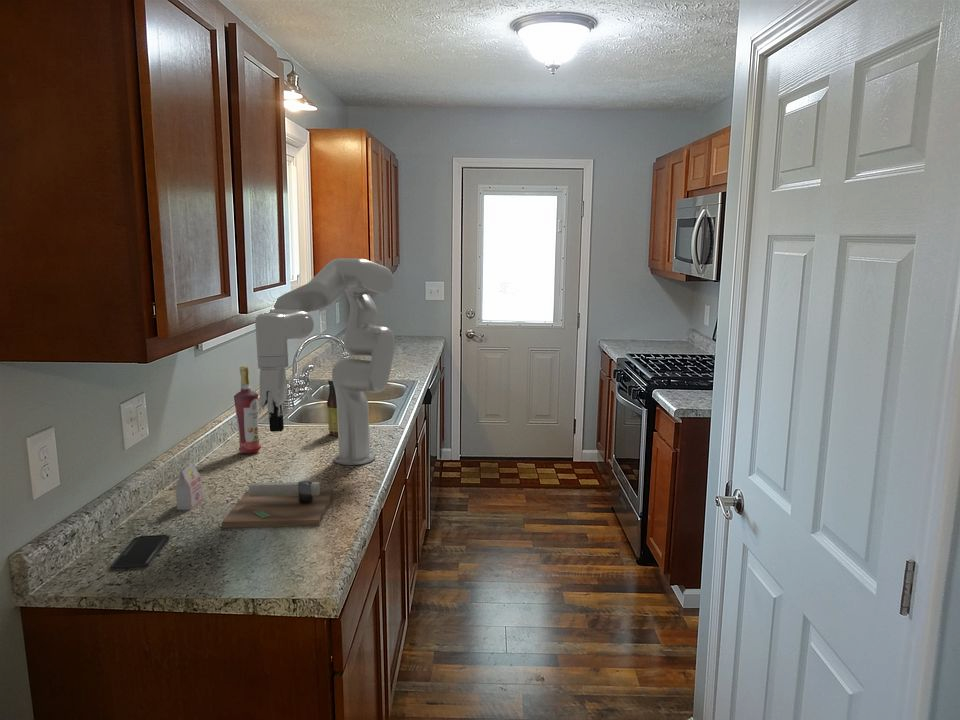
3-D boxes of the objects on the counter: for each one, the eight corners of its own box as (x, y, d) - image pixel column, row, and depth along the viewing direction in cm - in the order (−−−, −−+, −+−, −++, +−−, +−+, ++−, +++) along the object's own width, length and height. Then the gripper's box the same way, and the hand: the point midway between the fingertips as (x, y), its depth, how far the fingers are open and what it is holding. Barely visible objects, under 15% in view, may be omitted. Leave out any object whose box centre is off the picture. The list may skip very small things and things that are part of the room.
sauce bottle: (339, 430, 244) (336, 376, 240) (350, 433, 240) (348, 378, 236) (324, 434, 239) (321, 379, 235) (336, 437, 235) (333, 381, 231)
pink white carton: (177, 509, 174) (173, 472, 172) (189, 499, 180) (186, 463, 179) (191, 509, 174) (188, 472, 172) (203, 499, 180) (200, 463, 178)
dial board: (248, 494, 183) (247, 488, 183) (334, 493, 184) (334, 487, 184) (222, 527, 163) (221, 521, 162) (319, 525, 163) (318, 518, 163)
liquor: (251, 456, 215) (245, 370, 210) (233, 454, 218) (226, 368, 213) (266, 450, 222) (261, 365, 217) (248, 447, 224) (242, 364, 219)
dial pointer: (321, 497, 176) (320, 480, 175) (318, 502, 173) (317, 485, 172) (252, 498, 175) (251, 481, 175) (248, 504, 172) (247, 486, 171)
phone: (170, 534, 157) (147, 564, 143) (171, 538, 158) (147, 569, 143) (135, 536, 157) (107, 567, 142) (135, 541, 157) (108, 572, 142)
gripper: (266, 356, 182) (270, 423, 185) (249, 367, 167) (254, 439, 170) (294, 356, 182) (297, 422, 185) (280, 366, 167) (284, 438, 170)
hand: (276, 430), depth 178 cm, fingers closed
